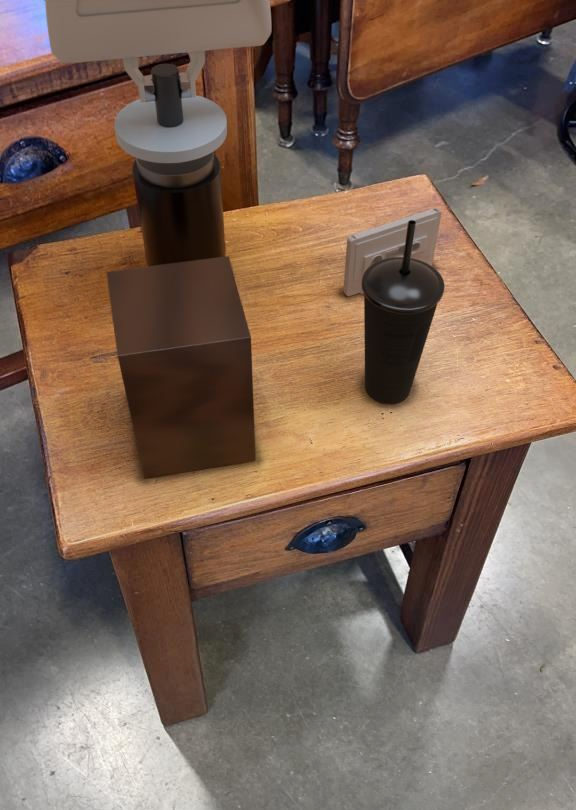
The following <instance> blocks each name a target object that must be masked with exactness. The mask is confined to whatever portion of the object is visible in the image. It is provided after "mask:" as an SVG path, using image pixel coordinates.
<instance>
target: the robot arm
mask: <svg viewBox="0 0 576 810" xmlns="http://www.w3.org/2000/svg"><path fill="white" fill-rule="evenodd" d="M44 2H45V3H44V5H45V18H46V25H47V26H46V27H47V34H48V41H49V47H50V52H51V54H52V56H54V57H55V58H56V59H57V60H58V61H59V62H60V63H61V64H63V65H64V64H65V65H66V64H78V63H88V62H89V63H90V62H100V61H109V60H110V61H111V60H121V59H122V64H123V69H124V71H125V72H126V73H127V75H128V76H129V77H130V78H131V80H132V81H133V82H134V83H135V85H136V86H137V90H138V95H139V99H140V101H141V102H150V101H156V98H155V93H154V92H155V90H154V83H153V81H152V75H143V72H141V71H140V69H139V67H140V63H139V58H142V57H153V56H162V55H163V56H164V55H175V54H185V53H187V54H188V56H189V60H190V61H189V63H188V66H187V68H186V70H185V71H182V72H179V80H180V88H181V98H190V97H196V95H197V84H196V81H198V78H199V76H200V73H201V72H202V69H203V68H204V66H205V63H206V51H215V50H216V51H217V50H227V49H228V50H229V49H237V48H238V49H239V48H249V47H260V46H261V47H262V46H263V45H265V44H266V42H267V41H268V39H269V38H270V36H271V34H272V11H271V2H270V0H44Z"/></svg>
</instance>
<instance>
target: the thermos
mask: <svg viewBox="0 0 576 810" xmlns="http://www.w3.org/2000/svg"><path fill="white" fill-rule="evenodd" d="M214 152H215V151H213V152H212V153H210V154H208V155H206V156H204V157H201V158H198V159H195V160H191V161H187V162H180V163H156V162H149V161H145V160H141V159H138V158H136V157H135V160H134V162H133V164H132V168H131V173H132V180H133V185H134V192H135V199H136V203H137V205H136V206H137V211H138V217H139V218H138V219H139V224H140V228H141V236H142V243H143V248H144V255H145V262H146V267H148V266H156V265H164V264H171V263H179V262H187V261H195V260H203V259H211V258H218V257H226V256H227V250H226V249H227V248H226V234H225V220H224V219H225V218H224V203H223V188H222V187H223V186H222V174H221V173H222V172H221V171H222V170H221V163H220V160H219V158H218V156H217V155H216V154H215V153H214Z"/></svg>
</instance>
